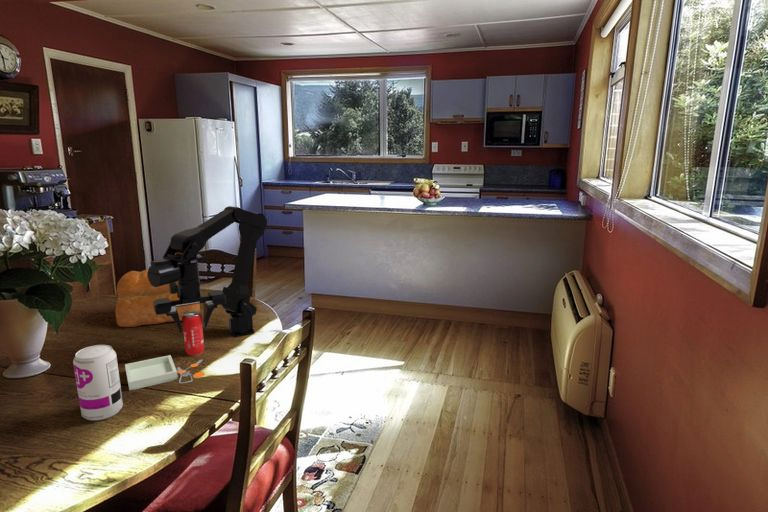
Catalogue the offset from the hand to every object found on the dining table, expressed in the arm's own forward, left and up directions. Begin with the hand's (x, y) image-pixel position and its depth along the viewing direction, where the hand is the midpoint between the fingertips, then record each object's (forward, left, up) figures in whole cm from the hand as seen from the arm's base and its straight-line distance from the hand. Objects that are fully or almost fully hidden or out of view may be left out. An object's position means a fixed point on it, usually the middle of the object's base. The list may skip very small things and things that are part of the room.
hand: (192, 329), depth 137 cm
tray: (+13, +9, -7) cm, 17 cm away
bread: (+5, -35, -7) cm, 36 cm away
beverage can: (0, 0, -7) cm, 7 cm away
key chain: (+3, +12, -8) cm, 14 cm away
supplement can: (+24, +22, -7) cm, 33 cm away
